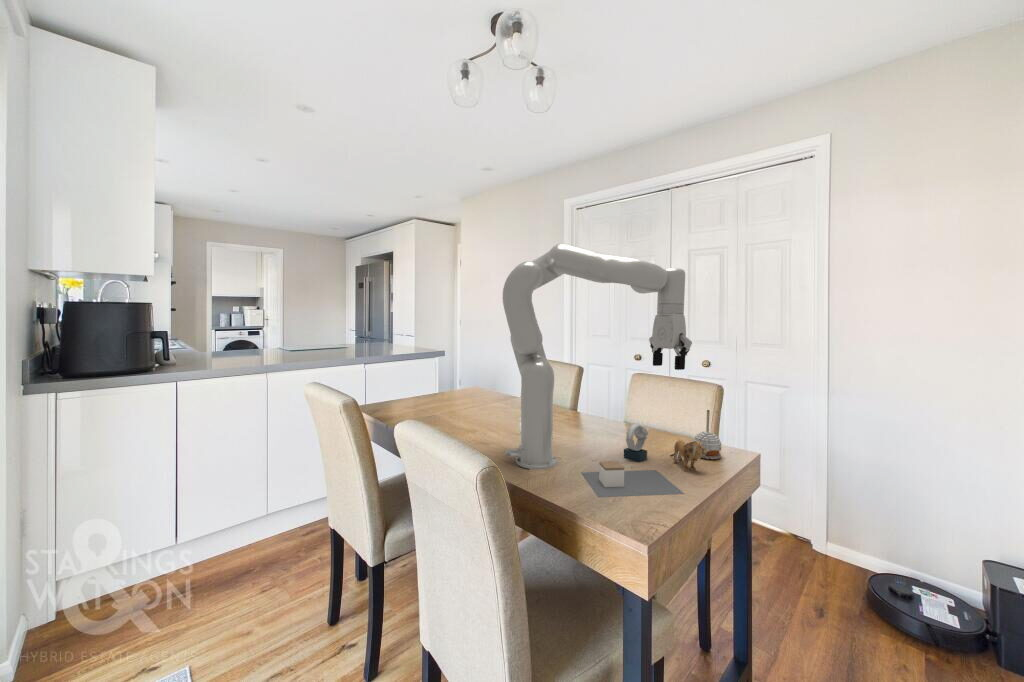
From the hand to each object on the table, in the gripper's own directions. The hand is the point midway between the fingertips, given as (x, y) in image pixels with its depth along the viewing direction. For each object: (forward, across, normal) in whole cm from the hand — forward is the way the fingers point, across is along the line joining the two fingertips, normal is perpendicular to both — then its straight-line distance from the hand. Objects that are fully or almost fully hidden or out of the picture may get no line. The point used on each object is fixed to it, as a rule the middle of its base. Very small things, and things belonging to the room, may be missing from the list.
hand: (668, 367), depth 125 cm
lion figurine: (+29, +5, +4) cm, 30 cm away
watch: (+29, -5, -7) cm, 31 cm away
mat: (+29, +11, -20) cm, 37 cm away
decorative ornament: (+29, 0, +16) cm, 33 cm away
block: (+29, +10, -25) cm, 39 cm away
